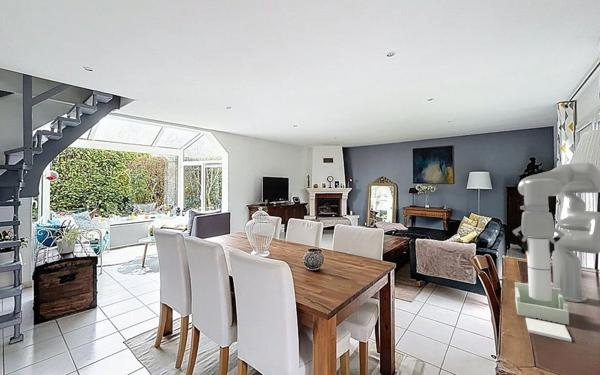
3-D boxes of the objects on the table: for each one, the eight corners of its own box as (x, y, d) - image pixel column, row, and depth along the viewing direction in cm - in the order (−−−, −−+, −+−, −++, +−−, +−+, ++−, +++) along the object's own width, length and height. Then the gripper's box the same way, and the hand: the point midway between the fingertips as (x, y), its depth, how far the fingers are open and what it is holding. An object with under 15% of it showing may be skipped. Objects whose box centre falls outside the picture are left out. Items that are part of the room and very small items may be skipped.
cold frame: (515, 302, 121) (514, 282, 121) (561, 310, 112) (560, 288, 112) (517, 314, 109) (516, 292, 109) (569, 325, 100) (568, 300, 100)
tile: (525, 320, 104) (525, 317, 104) (564, 328, 98) (564, 325, 98) (528, 332, 96) (528, 329, 96) (571, 342, 89) (571, 339, 89)
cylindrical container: (530, 299, 110) (527, 238, 110) (527, 293, 116) (525, 235, 116) (553, 302, 106) (551, 239, 106) (550, 296, 112) (547, 236, 112)
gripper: (510, 209, 113) (512, 251, 113) (567, 210, 103) (569, 256, 103) (509, 208, 119) (511, 247, 119) (563, 208, 109) (565, 251, 109)
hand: (538, 251), depth 111 cm, fingers closed on cylindrical container, 7 cm apart
